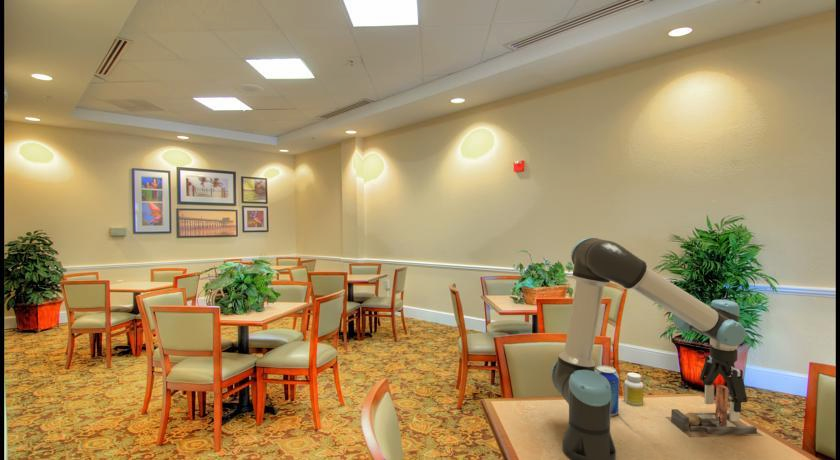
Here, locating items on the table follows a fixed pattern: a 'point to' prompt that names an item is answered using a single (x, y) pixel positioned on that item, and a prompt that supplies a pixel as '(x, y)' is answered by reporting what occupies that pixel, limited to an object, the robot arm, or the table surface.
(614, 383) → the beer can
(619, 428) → the table surface
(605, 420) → the robot arm
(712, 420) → the lever handle
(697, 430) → the base
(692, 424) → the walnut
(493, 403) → the table surface
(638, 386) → the pill bottle
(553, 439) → the table surface
